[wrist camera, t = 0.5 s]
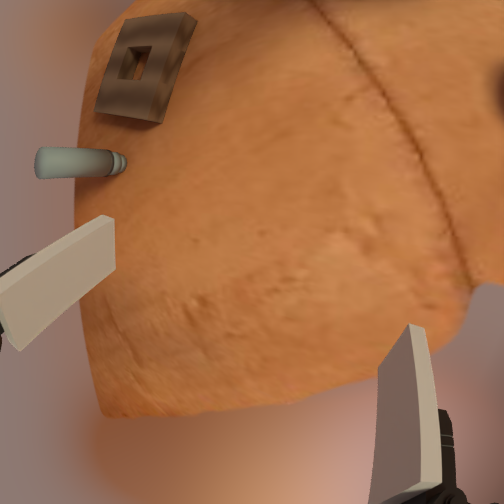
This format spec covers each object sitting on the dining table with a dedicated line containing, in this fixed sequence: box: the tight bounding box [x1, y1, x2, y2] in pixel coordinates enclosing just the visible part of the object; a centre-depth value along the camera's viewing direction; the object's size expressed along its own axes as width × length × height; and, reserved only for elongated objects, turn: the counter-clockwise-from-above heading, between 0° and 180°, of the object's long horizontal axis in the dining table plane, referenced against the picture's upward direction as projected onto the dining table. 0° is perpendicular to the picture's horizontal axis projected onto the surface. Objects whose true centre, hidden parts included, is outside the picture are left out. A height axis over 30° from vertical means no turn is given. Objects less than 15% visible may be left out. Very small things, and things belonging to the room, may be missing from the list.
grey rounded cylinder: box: [34, 147, 127, 179], centre depth 39 cm, size 4×4×16 cm
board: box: [93, 12, 197, 123], centre depth 40 cm, size 18×14×4 cm
